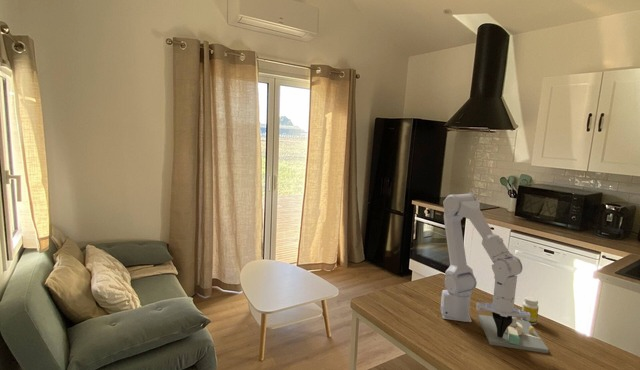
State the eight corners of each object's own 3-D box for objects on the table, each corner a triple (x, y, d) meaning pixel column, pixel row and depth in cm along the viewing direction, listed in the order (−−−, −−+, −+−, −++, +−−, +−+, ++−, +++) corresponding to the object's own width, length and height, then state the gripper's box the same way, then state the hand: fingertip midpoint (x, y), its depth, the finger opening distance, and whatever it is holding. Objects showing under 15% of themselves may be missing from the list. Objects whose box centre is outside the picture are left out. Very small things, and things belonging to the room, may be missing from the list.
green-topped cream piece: (499, 322, 112) (499, 317, 112) (519, 327, 109) (520, 321, 109) (502, 341, 102) (503, 335, 101) (525, 346, 99) (526, 340, 99)
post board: (490, 344, 102) (491, 326, 101) (478, 317, 118) (479, 301, 117) (548, 353, 99) (550, 334, 98) (528, 324, 114) (530, 308, 113)
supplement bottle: (539, 325, 113) (541, 302, 112) (523, 323, 114) (526, 301, 113) (533, 318, 118) (535, 296, 117) (518, 316, 119) (521, 294, 118)
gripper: (478, 295, 101) (474, 336, 103) (534, 306, 95) (528, 349, 97) (477, 286, 107) (474, 325, 109) (529, 295, 102) (524, 336, 104)
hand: (499, 335), depth 104 cm, fingers closed
